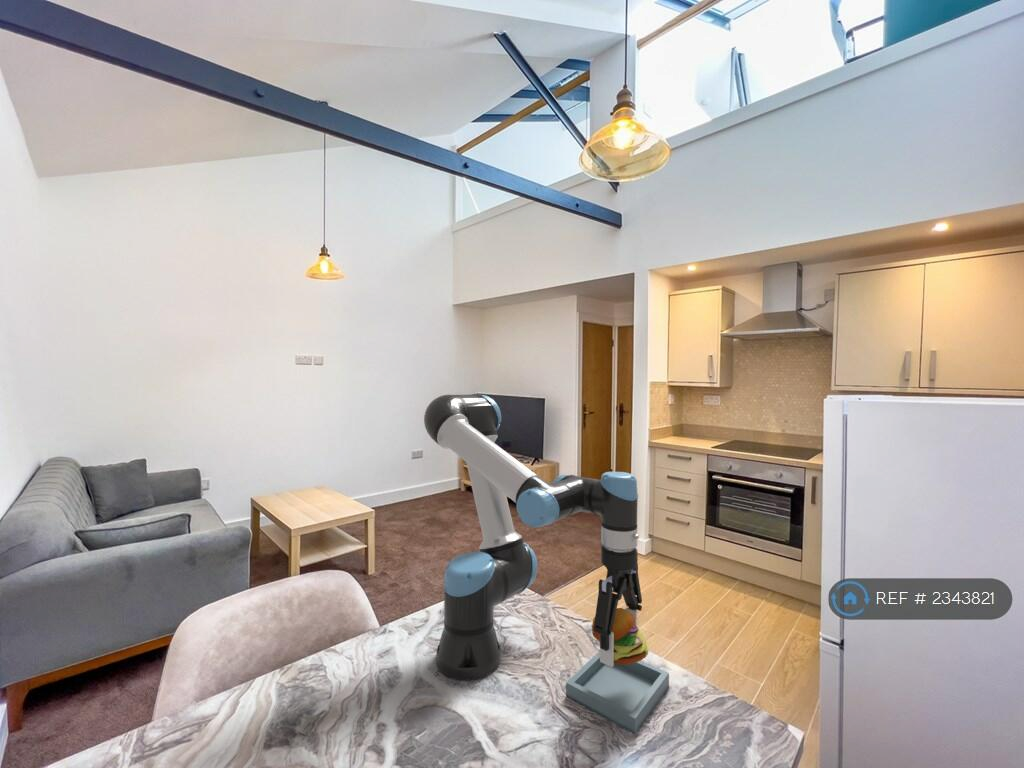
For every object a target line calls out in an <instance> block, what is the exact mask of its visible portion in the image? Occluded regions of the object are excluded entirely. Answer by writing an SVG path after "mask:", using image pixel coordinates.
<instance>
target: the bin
mask: <svg viewBox="0 0 1024 768" xmlns="http://www.w3.org/2000/svg"><path fill="white" fill-rule="evenodd" d="M669 687H670V672H669V671H665V670H664V669H662V668H659V667H656V666H654V665H652V664H650V663H648V662H645V661H643V660H641V661H638V662H636V663H632V664H627V665H623V664H616V663H614V666H613V667H610V666H608V665H606V664H604V663H601V662H600V650H599V651H598V652H597V653H595V655H594V656H592V657H591V658H590V659H589V660H588V661H587V662H586V663H585V664H584V665H583V666H582V667H581V668H580V669H579V670H578V671H577V672H575V674H574V675H572V677H570V678H569V679H568V680H567V681H566V682H565V698H567V699H568V700H571V701H572V702H574V703H576V704H578V705H580V706H582V707H583V708H585V709H587V710H589V711H590V712H592V713H594V714H596V715H598V716H600V717H602V718H604V719H605V720H607V721H609V722H610V723H612V724H615V725H616V726H618V727H620V728H622V729H624V730H626V731H627V732H629V733H631V734H632V735H634V736H636V734H637V733H638V731H639V730H640V729H641V727H642V726H643V724H645V721H646V720H647V718H649V715H651V714H652V711H653V710H654V708H655V707H656V706H657V705H658V704H659V701H660V700H661V699H662V697H663V696H664V695H665V693H666V691H667V690H668V689H669Z"/></svg>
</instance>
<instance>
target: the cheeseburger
mask: <svg viewBox="0 0 1024 768" xmlns="http://www.w3.org/2000/svg"><path fill="white" fill-rule="evenodd" d="M594 621H595V616H594V617H593V620H592V625H591V632H592V636H593V637H594V639H596V640H597V641H598V642H599V643H600V634H599V633H597V632H594V630H593V628H594ZM634 623H635V619H634V617H633V615H632V614H631V613H629V612H628V611H627V610H625V609H624V608H623V607H617V609H616V614H615V618H614V622H613V627H612V631H611V632H613V633H614V663H616V664H623V665H627V664H632V663H636V662H638V661H643V660H644V659H646V658H647V657H648V654H649V647H648V644H647V641H646V639H645V638H644V633H643V631H642V630H641V629H640V628H638V626H637V627H636V626H635V625H634Z"/></svg>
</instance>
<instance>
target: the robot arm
mask: <svg viewBox="0 0 1024 768" xmlns="http://www.w3.org/2000/svg"><path fill="white" fill-rule="evenodd" d="M501 422H502V413H501V410H500V407H499V405H498V403H497V402H496V401H495V400H494V398H491V397H490V396H489V395H486V394H485V395H484V394H479V393H478V394H477V393H472V394H444V395H440V396H438V397H435V398H434V399H433V400H432V401H431V402H430V403H429V404H428V406H427V407H426V409H425V412H424V418H423V423H424V428H425V430H426V433H427V435H428V436H429V437H430V439H432V440H433V441H434V442H435V443H436V444H437V445H438V446H439V447H441V448H442V449H446V450H447V449H450V450H451V451H452V452H453V453H455V454H456V455H457V456H458V457H459V458H461V459H462V460H463V461H464V462H465V464H466V466H467V472H468V477H469V480H470V484H471V490H472V494H473V498H474V499H473V500H474V503H475V507H476V508H475V509H476V512H477V516H478V521H479V525H480V530H481V534H482V535H481V536H482V538H483V539H482V541H481V543H480V545H479V551H472V552H465V553H464V552H463V553H462V554H458V555H457V556H455V557H453V558H452V559H451V560H450V561H449V562H448V563H447V565H446V567H445V570H444V571H445V572H444V580H443V590H444V591H443V593H444V596H443V597H444V598H443V599H444V600H443V601H444V602H443V604H444V605H443V606H444V609H443V615H444V616H443V629H442V632H441V636H440V640H439V644H438V645H437V648H436V653H435V656H436V657H435V659H436V661H435V662H436V663H435V664H436V667H437V669H438V670H439V672H440V673H441V674H442V675H444V676H446V677H448V678H451V679H455V680H459V681H472V680H477V679H482V678H484V677H487V676H489V675H491V674H492V673H493V672H494V671H496V669H497V668H498V667H499V665H500V663H501V645H500V643H499V641H498V637H497V633H496V630H495V626H494V608H495V607H496V606H498V605H500V604H501V603H503V602H505V601H507V600H508V599H511V598H512V597H515V596H516V595H519V594H521V593H522V592H524V591H526V589H528V588H529V587H530V586H532V584H533V583H534V581H535V579H536V577H537V574H538V560H537V556H536V554H535V551H534V550H533V549H532V548H531V547H530V545H529V544H528V543H526V542H524V540H523V536H522V535H521V534H519V533H518V532H517V531H516V530H515V527H514V523H513V519H512V514H511V511H510V506H509V502H508V501H509V500H508V498H509V499H511V501H513V502H514V503H515V504H516V513H517V515H518V516H519V517H520V521H521V522H522V523H523V524H525V525H526V526H527V527H530V528H540V527H545V526H550V525H552V524H553V523H555V522H557V521H560V520H562V519H564V518H567V517H569V516H573V515H575V514H577V513H580V512H582V513H588V514H593V515H598V516H600V520H601V521H600V523H601V524H600V525H601V528H600V535H601V536H600V537H601V538H600V543H601V546H600V547H601V551H600V552H601V553H600V555H601V556H600V557H601V558H600V559H601V560H600V561H601V564H602V565H603V566H604V567H605V568H606V577H605V579H601V578H600V579H599V580H598V594H597V601H596V607H595V608H596V609H595V615H594V617H595V621H594V628H593V630H594V632H597V633H599V634H600V642H599V651H600V662H601V663H604V664H606V665H608V666H610V667H613V666H614V633H613V632H611V631H612V627H613V622H614V618H615V614H616V609H617V608H618V605H619V601H620V600H622V597H623V600H624V603H625V605H626V607H624V608H623V609H625V610H627V611H628V612H629V613H631V614H632V615H633V617H634V619H635V623H634V625H635V626H636V627H637V628H638V611H640V612H641V611H642V607H643V606H642V605H641V604H642V601H643V598H642V593H641V586H640V579H639V563H638V556H639V555H638V551H639V550H638V549H637V547H638V539H639V538H640V534H638V502H639V501H638V499H639V495H638V494H639V493H638V481H637V478H636V476H635V475H634V474H632V473H631V472H630V473H629V472H624V471H606V472H604V473H602V474H601V478H600V479H596V478H591V477H590V478H589V477H584V476H578V475H574V474H559V475H557V476H556V478H555V479H554V480H553V481H552V483H549V482H547V480H545V479H543V478H541V476H539V475H537V474H536V473H535V472H533V471H532V470H531V469H529V468H528V467H527V466H526V465H525V464H523V463H522V462H520V461H519V460H517V459H516V457H513V456H512V455H511V454H510V453H509V452H507V451H505V450H504V449H503V448H501V447H500V446H499V445H498V444H497V443H495V442H496V440H497V439H498V430H499V428H500V426H501V424H500V423H501Z"/></svg>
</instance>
